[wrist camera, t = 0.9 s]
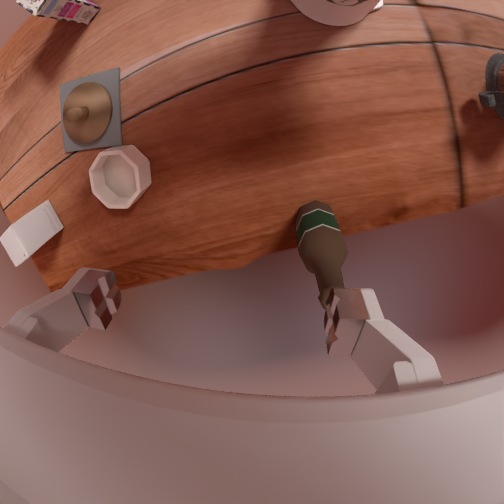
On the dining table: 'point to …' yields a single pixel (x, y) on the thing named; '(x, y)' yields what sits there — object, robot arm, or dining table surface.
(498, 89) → the tankard
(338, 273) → the beer bottle
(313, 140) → the dining table surface
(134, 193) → the bowl
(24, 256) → the supplement box
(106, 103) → the lid
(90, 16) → the candy bar box
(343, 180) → the dining table surface
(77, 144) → the mat
